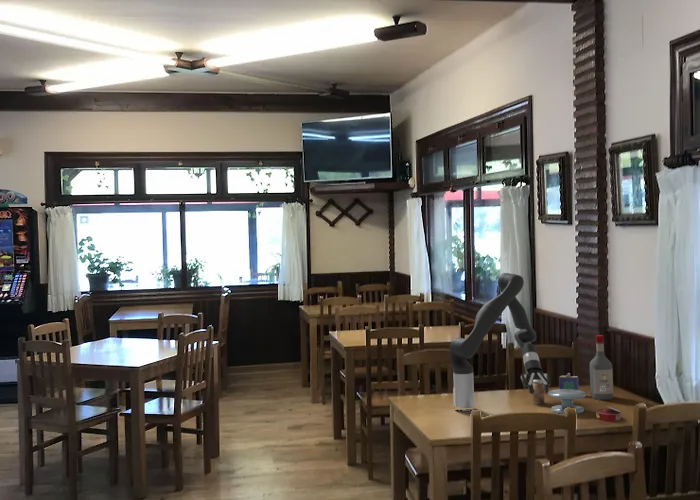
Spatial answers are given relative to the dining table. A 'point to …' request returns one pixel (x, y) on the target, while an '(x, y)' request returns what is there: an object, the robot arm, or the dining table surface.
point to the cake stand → (567, 399)
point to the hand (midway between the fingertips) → (539, 393)
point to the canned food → (608, 414)
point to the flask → (568, 382)
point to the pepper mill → (538, 392)
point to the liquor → (601, 373)
